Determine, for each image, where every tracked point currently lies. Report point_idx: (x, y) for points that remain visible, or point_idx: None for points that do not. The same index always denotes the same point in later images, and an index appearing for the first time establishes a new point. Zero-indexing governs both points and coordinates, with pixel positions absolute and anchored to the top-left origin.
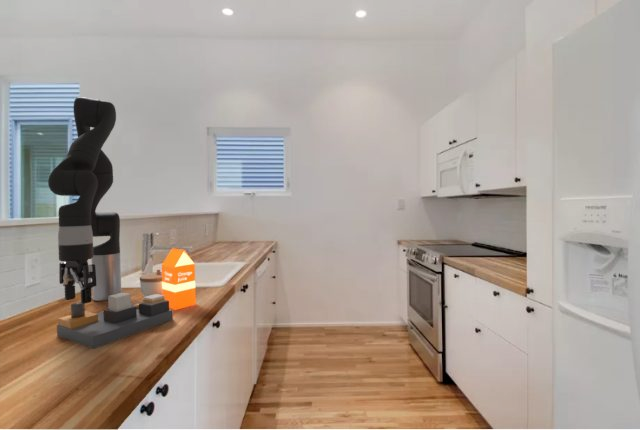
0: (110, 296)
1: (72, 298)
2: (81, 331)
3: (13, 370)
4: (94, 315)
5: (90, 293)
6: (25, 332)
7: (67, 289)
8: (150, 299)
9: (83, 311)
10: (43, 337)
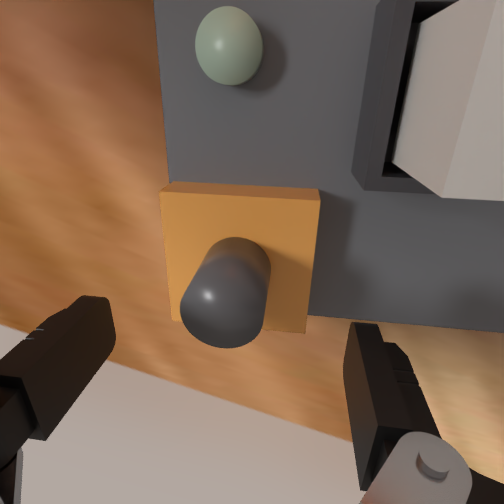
0: (493, 199)
1: (106, 311)
2: (399, 315)
3: None
4: (317, 220)
5: (423, 402)
6: (40, 297)
7: (61, 408)
8: None
9: (265, 270)
10: (163, 301)
